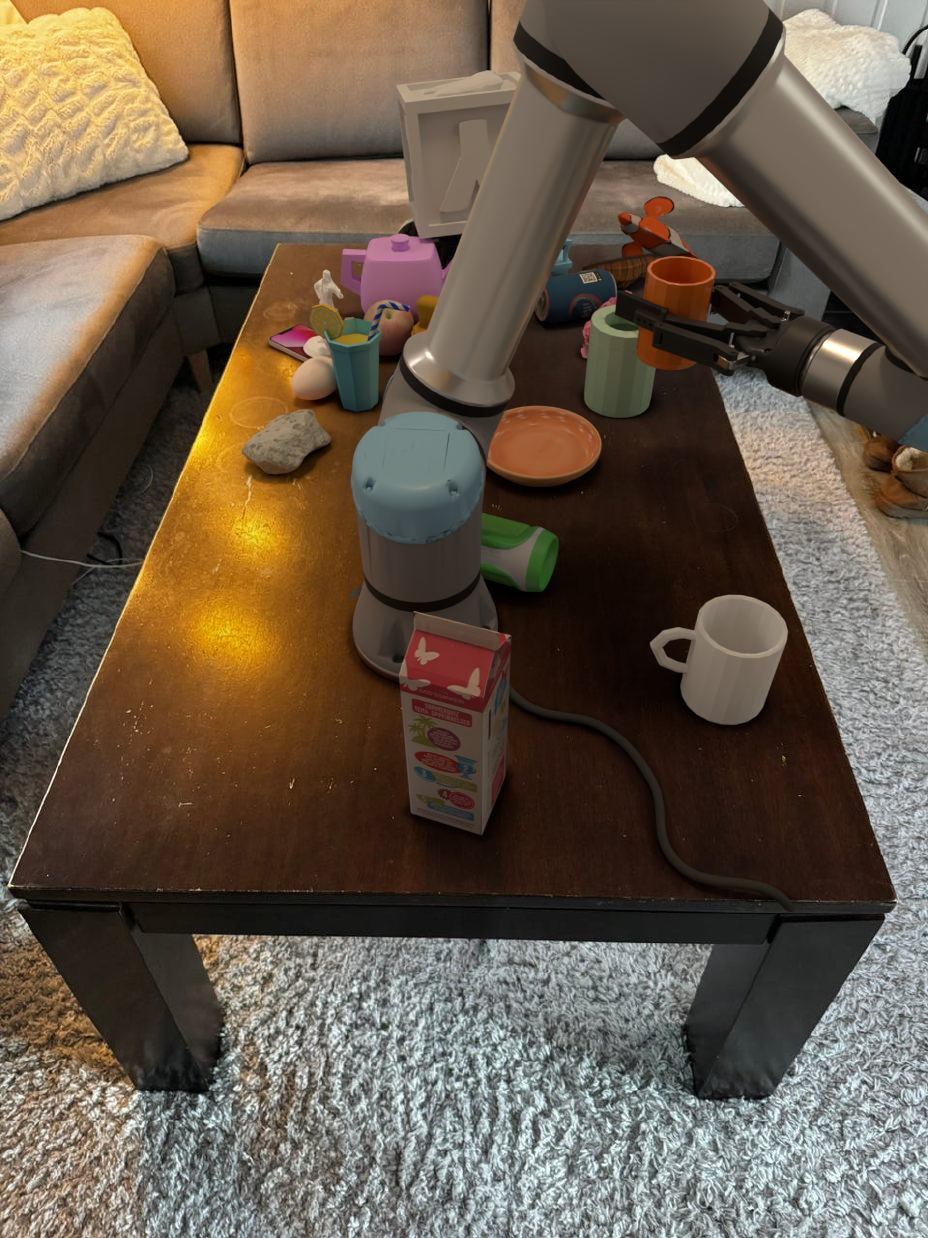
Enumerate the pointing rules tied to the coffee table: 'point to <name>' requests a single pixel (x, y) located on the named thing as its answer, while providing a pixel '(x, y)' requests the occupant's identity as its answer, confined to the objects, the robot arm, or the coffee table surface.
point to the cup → (353, 352)
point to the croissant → (625, 268)
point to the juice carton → (455, 719)
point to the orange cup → (675, 302)
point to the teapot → (395, 271)
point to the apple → (392, 328)
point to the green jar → (616, 368)
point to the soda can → (575, 295)
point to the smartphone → (293, 340)
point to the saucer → (543, 446)
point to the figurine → (324, 292)
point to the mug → (728, 658)
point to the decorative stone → (286, 442)
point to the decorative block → (450, 144)
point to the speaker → (517, 553)
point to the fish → (653, 231)
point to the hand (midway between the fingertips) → (640, 290)
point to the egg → (314, 379)
